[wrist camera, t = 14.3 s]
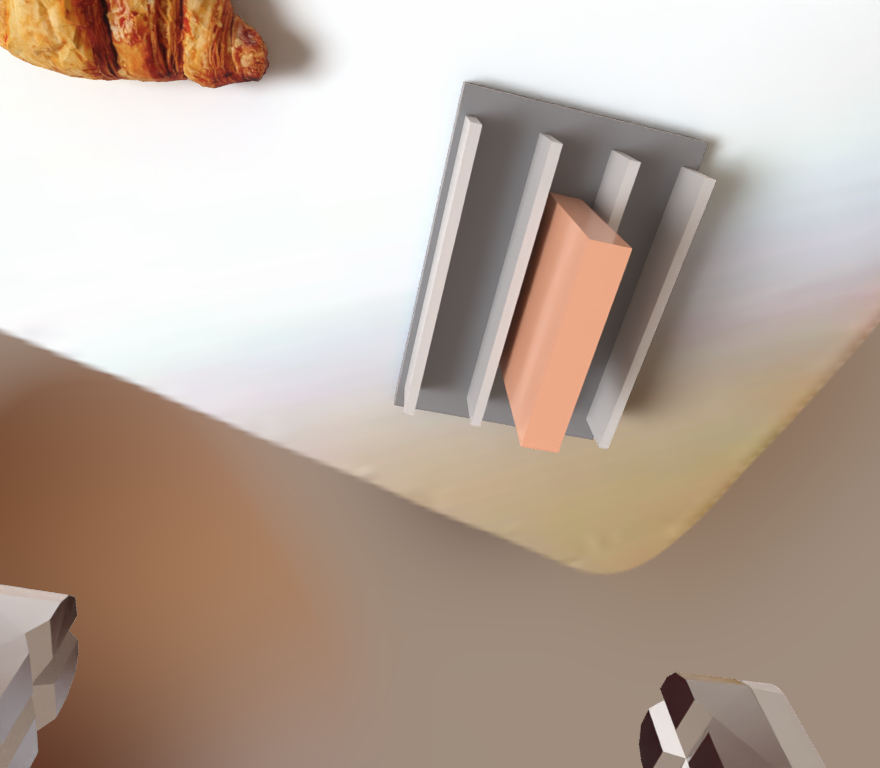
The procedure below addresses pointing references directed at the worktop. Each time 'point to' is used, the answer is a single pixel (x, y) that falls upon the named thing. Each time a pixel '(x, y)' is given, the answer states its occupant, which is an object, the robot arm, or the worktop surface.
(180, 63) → the croissant
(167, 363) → the worktop surface
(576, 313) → the plate tile
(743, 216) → the worktop surface
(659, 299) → the dish rack
